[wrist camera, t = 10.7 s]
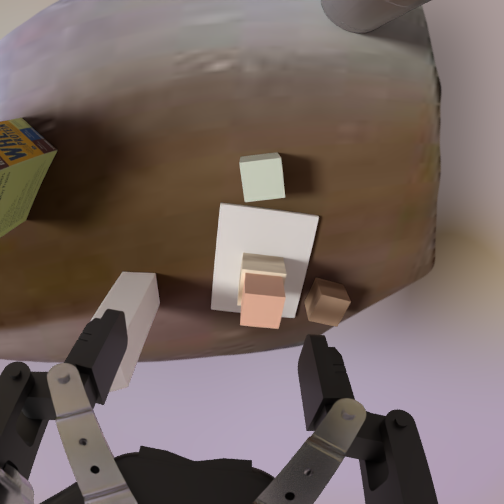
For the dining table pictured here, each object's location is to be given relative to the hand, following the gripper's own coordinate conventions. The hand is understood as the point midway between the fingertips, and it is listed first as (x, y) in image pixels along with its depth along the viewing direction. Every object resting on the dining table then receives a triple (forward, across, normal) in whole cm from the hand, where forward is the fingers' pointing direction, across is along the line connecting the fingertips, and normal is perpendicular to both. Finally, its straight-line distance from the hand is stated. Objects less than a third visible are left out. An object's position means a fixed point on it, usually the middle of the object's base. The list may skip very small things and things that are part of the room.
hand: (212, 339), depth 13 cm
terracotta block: (+26, -5, +14) cm, 30 cm away
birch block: (+31, -5, +14) cm, 35 cm away
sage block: (+32, -3, -1) cm, 32 cm away
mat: (+32, -5, +13) cm, 35 cm away
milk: (+32, +14, +20) cm, 40 cm away
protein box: (+32, +37, +1) cm, 49 cm away
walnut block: (+32, -16, +17) cm, 40 cm away
